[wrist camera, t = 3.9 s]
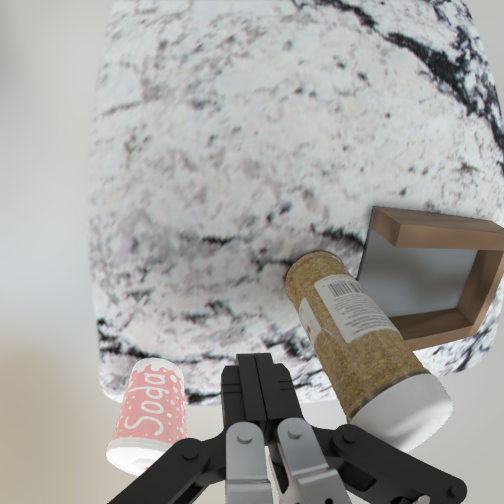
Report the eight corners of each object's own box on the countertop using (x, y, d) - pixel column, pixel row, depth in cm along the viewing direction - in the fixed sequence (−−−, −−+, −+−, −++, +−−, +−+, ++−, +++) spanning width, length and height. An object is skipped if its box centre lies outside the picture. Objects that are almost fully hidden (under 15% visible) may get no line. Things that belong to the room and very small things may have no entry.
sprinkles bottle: (272, 293, 21) (339, 473, 9) (305, 238, 19) (423, 406, 7) (322, 310, 22) (403, 461, 10) (355, 261, 21) (471, 402, 9)
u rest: (373, 206, 19) (401, 224, 16) (491, 221, 21) (516, 235, 18) (341, 333, 24) (356, 361, 20) (457, 316, 26) (475, 335, 23)
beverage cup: (201, 363, 23) (209, 527, 10) (181, 401, 25) (182, 537, 13) (130, 341, 21) (98, 509, 9) (119, 384, 23) (97, 521, 11)
